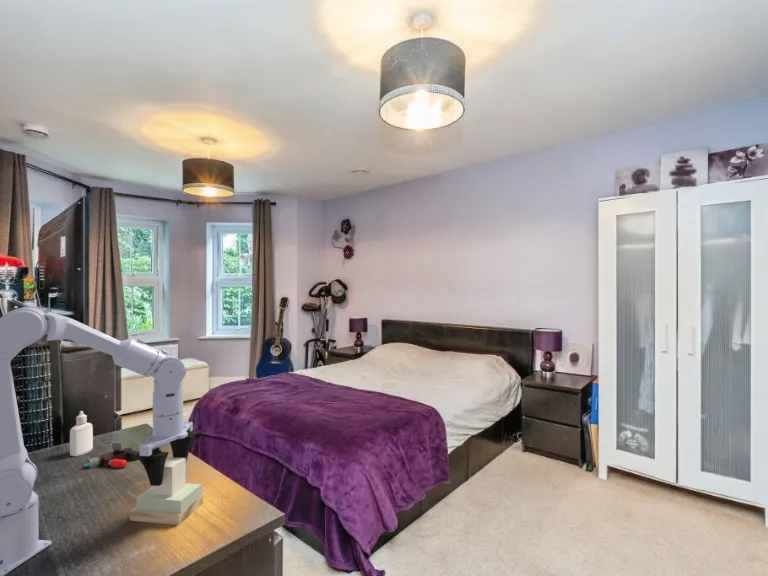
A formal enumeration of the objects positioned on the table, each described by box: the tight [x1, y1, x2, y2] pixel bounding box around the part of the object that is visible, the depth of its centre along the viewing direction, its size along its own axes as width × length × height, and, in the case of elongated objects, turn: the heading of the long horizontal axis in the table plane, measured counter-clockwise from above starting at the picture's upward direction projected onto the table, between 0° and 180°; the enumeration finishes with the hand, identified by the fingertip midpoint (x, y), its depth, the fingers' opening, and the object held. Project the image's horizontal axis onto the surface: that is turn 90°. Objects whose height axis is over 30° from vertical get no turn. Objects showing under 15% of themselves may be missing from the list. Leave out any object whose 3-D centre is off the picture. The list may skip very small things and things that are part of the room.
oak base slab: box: [129, 494, 204, 526], centre depth 86 cm, size 8×11×2 cm
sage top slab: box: [136, 483, 203, 513], centre depth 86 cm, size 7×10×2 cm
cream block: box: [151, 456, 187, 496], centre depth 87 cm, size 4×4×6 cm
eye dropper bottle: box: [69, 410, 94, 457], centre depth 117 cm, size 4×6×12 cm
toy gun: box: [83, 441, 139, 469], centre depth 109 cm, size 10×12×5 cm
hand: (168, 476), depth 86 cm, fingers open, 7 cm apart
